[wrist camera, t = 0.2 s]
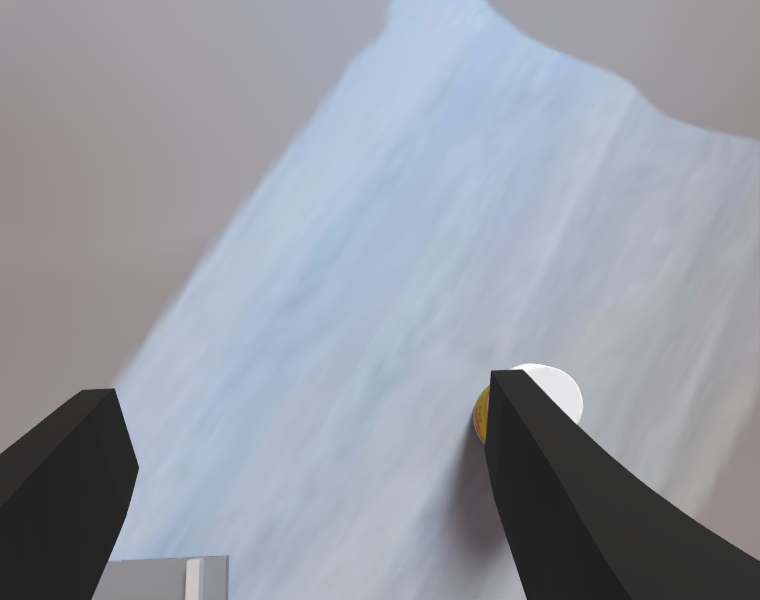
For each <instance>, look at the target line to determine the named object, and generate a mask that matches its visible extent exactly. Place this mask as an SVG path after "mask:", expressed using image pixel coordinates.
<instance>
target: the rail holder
mask: <svg viewBox="0 0 760 600" xmlns="http://www.w3.org/2000/svg"><path fill="white" fill-rule="evenodd" d="M228 572H229V556H210V557H189V558H168V559H147V560H126V561H108V562H107V564H106V567H105V569H104V571H103V574H102V576H101V579H100V581H99V583H98V586H97V588H96V590H95V593H94V595H93V597H92V600H228Z"/></svg>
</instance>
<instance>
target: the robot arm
mask: <svg viewBox="0 0 760 600" xmlns="http://www.w3.org/2000/svg"><path fill="white" fill-rule="evenodd" d="M485 454H486V460H487V465H488V470H489V476H490V480H491V485H492V490H493V495H494V499H495V502H496V506H497V509H498V512H499V515H500V518H501V521H502V524H503V528H504V531H505V534H506V537H507V540H508V543H509V546H510V549H511V552H512V555H513V558H514V561H515V564H516V567H517V571H518V574H519V577H520V580H521V583H522V586H523V589H524V592H525V595H526V598H527V600H760V561H758V560H757V559H755V558H754V557H752V556H750V555H748V554H747V553H745V552H743V551H742V550H740V549H739V548H737V547H736V546H734V545H732V544H731V543H729V542H728V541H726V540H724V539H723V538H721V537H720V536H718V535H717V534H715V533H713V532H712V531H710V530H709V529H707V528H705V527H704V526H703V525H701V524H700V523H698V522H697V521H695V520H694V519H692V518H691V517H689V516H688V515H686V514H685V513H683V512H682V511H681V510H679V509H678V508H677V507H675V506H674V505H672V504H671V503H670V502H668V501H667V500H666V499H664V498H663V497H661V496H660V495H659V494H657V493H656V492H655V491H653V490H652V489H651V488H649V487H648V486H647V485H645V484H644V483H643V482H642V481H640V480H639V479H638V478H637V477H635V476H634V475H633V474H632V473H630V472H629V471H628V470H627V469H626V468H625V467H623V466H622V465H621V464H620V463H619V462H617V461H616V460H615V459H614V458H613V457H611V456H610V455H609V454H608V453H607V452H606V451H605V450H604V449H603V448H601V447H600V446H599V445H598V444H597V443H596V442H595V441H594V440H593V439H592V438H591V437H590V436H589V435H588V434H586V433H585V432H584V431H583V430H582V429H581V428H580V427H579V426H578V425H577V424H576V423H575V422H574V421H573V420H572V419H571V418H570V417H569V416H568V415H567V414H566V413H565V412H564V411H563V410H562V409H561V408H560V407H559V406H558V405H557V404H556V403H555V402H554V401H553V400H552V399H551V398H550V397H549V396H548V395H547V394H546V393H545V392H544V391H543V390H542V389H541V388H540V386H539V385H538V384H537V383H536V382H535V381H534V380H533V379H532V378H531V377H530V376H529V375H528V374H527V373H526V372H525V371H524V370H523V369H517V370H496V371H491V378H490V391H489V403H488V416H487V428H486V441H485ZM138 470H139V466H138V463H137V459H136V456H135V453H134V450H133V446H132V443H131V440H130V437H129V433H128V430H127V427H126V424H125V420H124V417H123V414H122V411H121V408H120V404H119V401H118V398H117V395H116V391H115V388H113V389H93V390H82V391H81V392H79V393H78V394H76V395H75V396H73V397H72V398H71V399H69V400H68V401H67V402H65V403H64V404H63V405H61V406H60V407H59V408H58V409H56V410H55V411H54V412H53V413H51V414H50V415H49V416H48V417H46V418H45V419H44V420H43V421H41V422H40V423H39V424H38V425H36V426H35V427H34V428H33V429H31V430H30V431H29V432H28V433H26V434H25V435H24V436H22V437H21V438H20V439H19V440H17V441H16V442H15V443H14V444H12V445H11V446H10V447H9V448H7V449H6V450H5V451H4V452H2V453H1V454H0V600H92V597H93V595H94V593H95V590H96V588H97V586H98V583H99V581H100V579H101V576H102V574H103V571H104V569H105V567H106V564H107V562H108V560H109V557H110V555H111V552H112V550H113V548H114V545H115V543H116V540H117V538H118V535H119V533H120V531H121V528H122V526H123V523H124V520H125V518H126V515H127V511H128V508H129V504H130V501H131V497H132V494H133V490H134V486H135V482H136V478H137V474H138Z"/></svg>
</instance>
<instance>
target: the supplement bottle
mask: <svg viewBox="0 0 760 600" xmlns="http://www.w3.org/2000/svg"><path fill="white" fill-rule="evenodd" d="M517 369H523V370H524V371H525V372H526V373H527V374H528V375H529V376H530V377H531V378H532V379H533V380H534V381H535V382H536V383H537V384H538V385H539V386H540V388H541V389H542V390H543V391H544V392H545V393H546V394H547V395H548V396H549V397H550V398H551V399H552V400H553V401H554V402H555V403H556V404H557V405H558V406H559V407H560V408H561V409H562V410H563V411H564V412H565V413H566V414H567V415H568V416H569V417H570V418H571V419H572V420H573V421H574V422H575V423H576V424H577V425H578V423H579V421H580V419H581V416H582V411H583V399H582V395H581V392H580V389H579V387H578V386H577V384H576V383H575V381H574V380H573V379H572V378H571V377H570V376H569V375H567V374H566V373H565V372H563V371H561V370H559V369H556V368H553V367H548V366H545V365H541V364H522V365H518V366H515V367H513V368H511V369H509V370H517ZM489 391H490V386H488V387H487V388H486V389H485V390H484V391H483V392H482V393H481V395H480V396H479V398H478V400H477V402H476V404H475V407H474V413H473V421H474V426H475V430H476V433H477V435H478V437H479V438H480V440H481V441H482V442H483V444H484V445H485V441H486V428H487V416H488V403H489Z"/></svg>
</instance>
